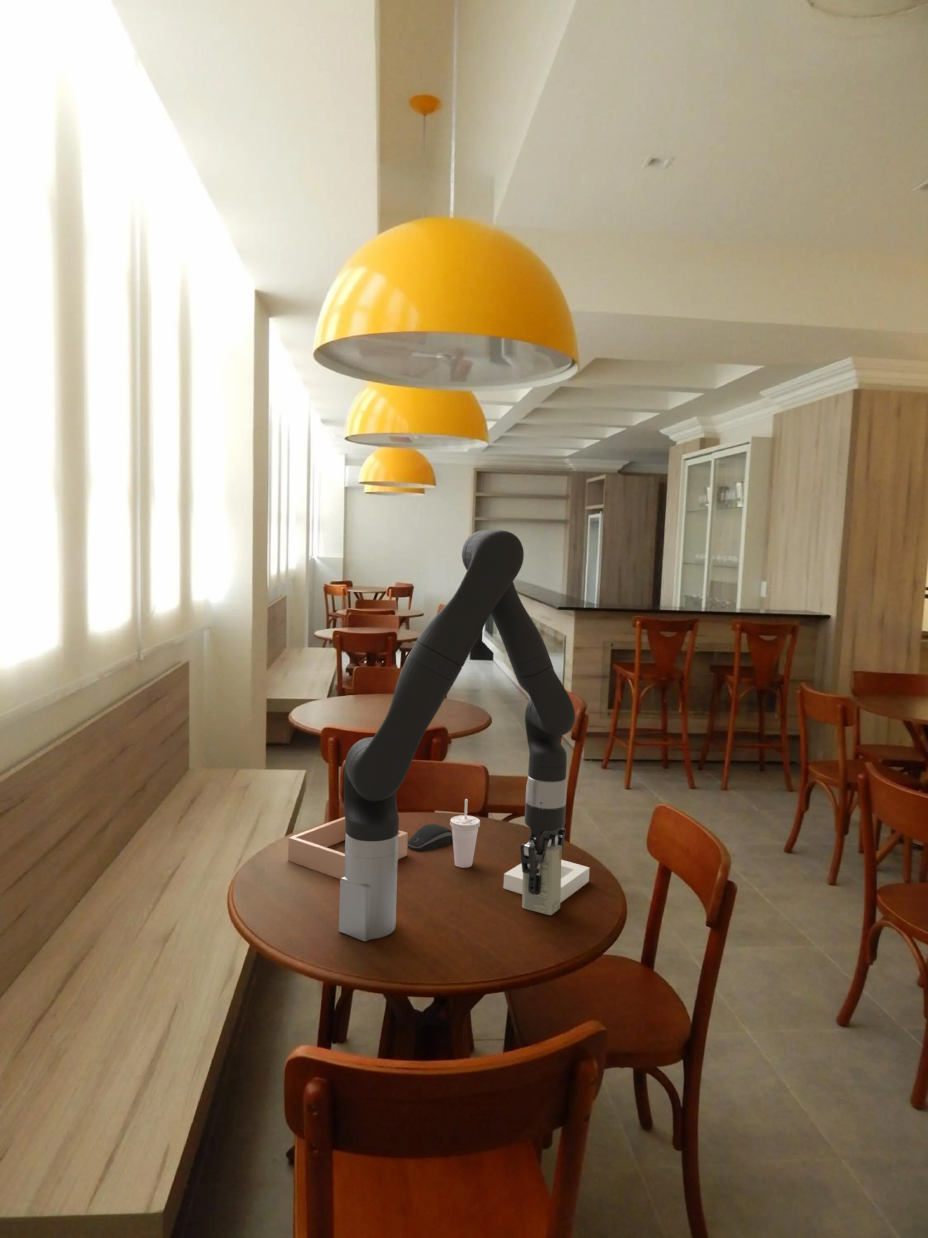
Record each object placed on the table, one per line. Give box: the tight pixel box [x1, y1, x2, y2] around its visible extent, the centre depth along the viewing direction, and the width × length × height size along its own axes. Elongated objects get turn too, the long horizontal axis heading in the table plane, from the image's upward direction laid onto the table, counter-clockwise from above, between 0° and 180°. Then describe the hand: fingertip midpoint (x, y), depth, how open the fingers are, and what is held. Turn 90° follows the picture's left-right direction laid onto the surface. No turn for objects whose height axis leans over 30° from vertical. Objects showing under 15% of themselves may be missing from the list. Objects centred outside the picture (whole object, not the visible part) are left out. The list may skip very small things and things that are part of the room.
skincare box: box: [521, 845, 563, 916], centre depth 149 cm, size 6×4×12 cm
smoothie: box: [449, 798, 481, 869], centre depth 168 cm, size 6×6×14 cm
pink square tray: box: [287, 816, 409, 880], centre depth 170 cm, size 18×17×5 cm
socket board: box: [502, 859, 590, 904], centre depth 160 cm, size 14×12×4 cm
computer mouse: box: [407, 823, 453, 852], centre depth 181 cm, size 7×12×4 cm, turn 138°
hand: (541, 888), depth 149 cm, fingers open, 5 cm apart
